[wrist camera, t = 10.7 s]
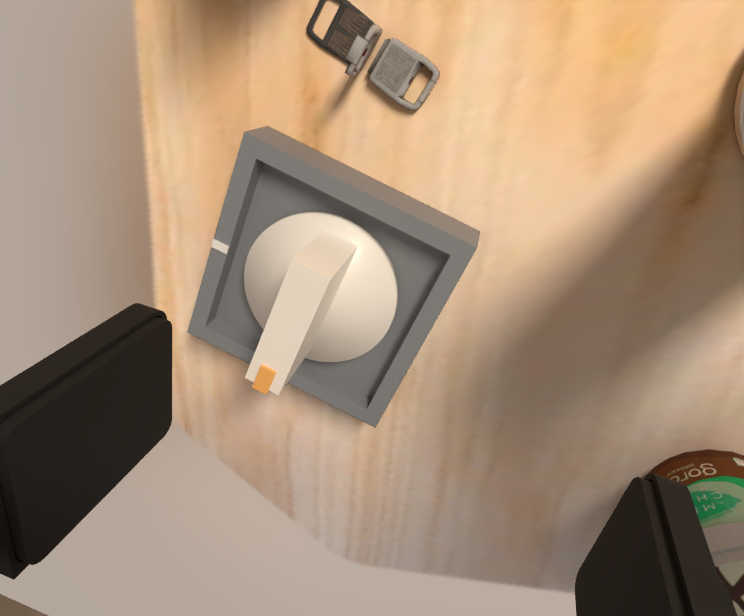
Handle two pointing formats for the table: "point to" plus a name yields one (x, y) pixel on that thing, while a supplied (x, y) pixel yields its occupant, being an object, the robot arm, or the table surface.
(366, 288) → the dial
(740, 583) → the food container
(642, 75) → the table surface
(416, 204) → the dial plate
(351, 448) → the table surface
